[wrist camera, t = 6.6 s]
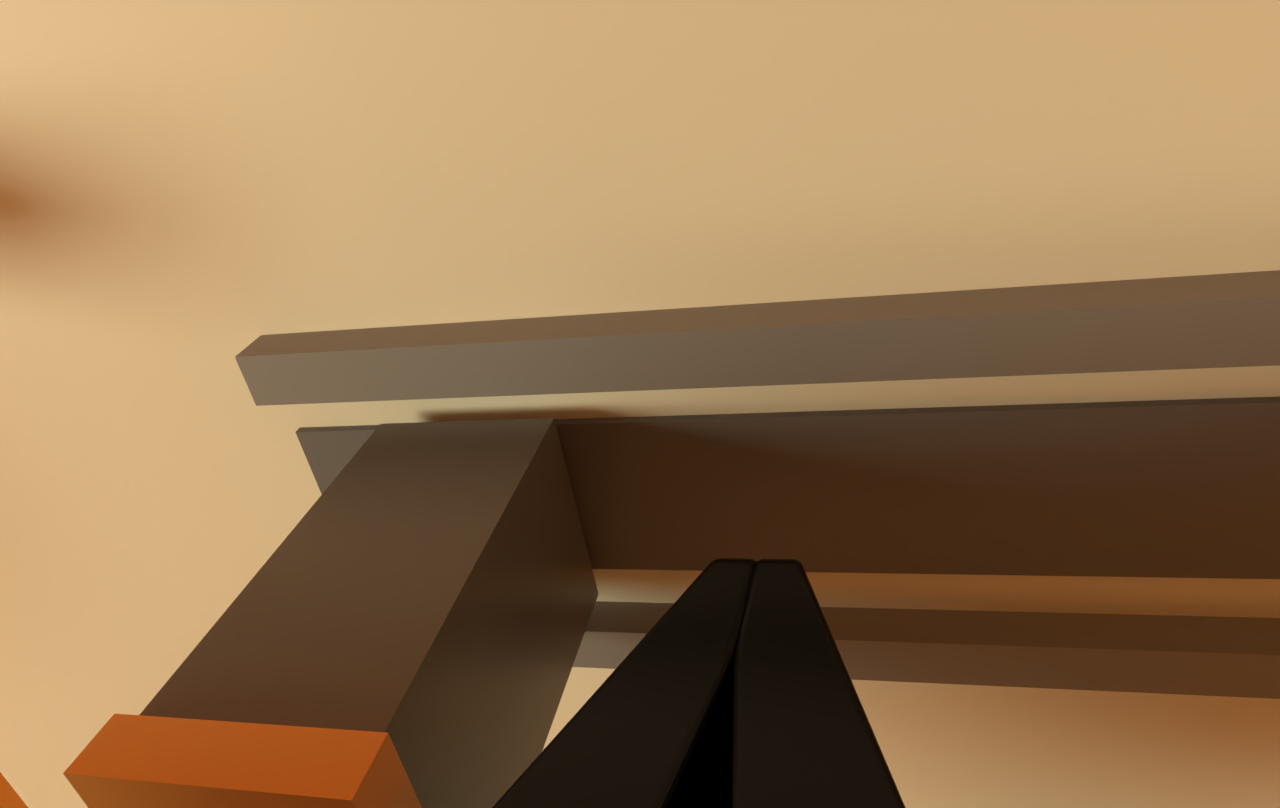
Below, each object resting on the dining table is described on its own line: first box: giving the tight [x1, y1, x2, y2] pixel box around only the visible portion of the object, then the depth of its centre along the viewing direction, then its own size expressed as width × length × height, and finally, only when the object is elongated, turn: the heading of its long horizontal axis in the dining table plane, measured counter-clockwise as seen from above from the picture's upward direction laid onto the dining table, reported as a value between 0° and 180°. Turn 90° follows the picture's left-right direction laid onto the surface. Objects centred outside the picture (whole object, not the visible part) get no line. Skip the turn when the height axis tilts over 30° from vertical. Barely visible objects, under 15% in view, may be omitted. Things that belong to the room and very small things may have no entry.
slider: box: [63, 418, 598, 808], centre depth 8 cm, size 3×2×4 cm
